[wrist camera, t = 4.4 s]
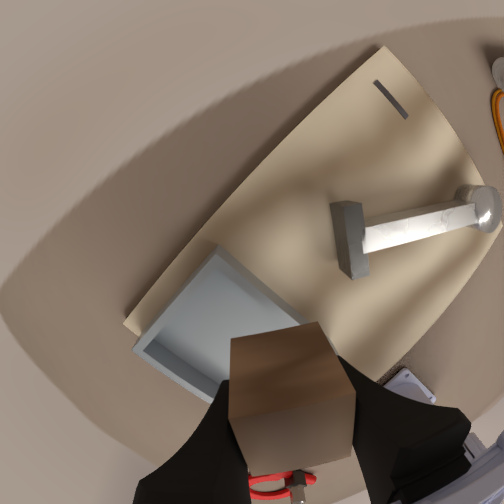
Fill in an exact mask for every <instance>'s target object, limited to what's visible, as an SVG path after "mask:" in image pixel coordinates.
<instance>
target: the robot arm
mask: <svg viewBox="0 0 504 504" xmlns="http://www.w3.org/2000/svg"><path fill="white" fill-rule="evenodd" d="M337 357H338V359H339V361H340V363H341V365H342V367H343V369H344V370H345V372H346V374H347V376H348V378H349V380H350V382H351V384H352V385H353V387H354V389H355V391H356V402H355V418H354V430H353V440H352V445H353V447H354V450H355V452H356V455H357V458H358V461H359V464H360V467H361V470H362V473H363V477H364V480H365V483H366V487H367V490H368V493H369V497H370V501H371V504H502V502H503V500H504V431H503V432H502V433H501V434H500V436H499V437H498V439H497V441H496V443H494V444H493V445H492V446H490V447H489V448H488V449H487V448H486V447H485V446H484V445H483V444H482V442H481V441H480V440H479V438H478V437H477V436H476V435H475V433H469V431H470V429H471V422H470V421H469V420H468V419H467V417H466V416H465V415H464V414H463V413H462V412H461V411H460V410H459V409H458V408H451V407H442V406H436V405H434V404H433V403H434V402H435V400H436V397H435V396H434V395H433V394H432V393H431V392H430V391H429V390H428V389H427V388H426V387H425V386H424V385H423V384H422V383H421V382H420V381H419V380H418V379H417V378H416V377H415V376H414V375H413V374H412V373H411V372H410V371H409V370H408V369H407V368H403V369H402V370H400V371H399V372H398V373H397V374H396V375H395V376H394V377H393V378H392V379H391V380H390V381H389V382H388V383H386V384H385V385H384V386H381V385H379V384H378V383H376V382H374V381H373V380H371V379H370V378H368V377H367V376H365V375H364V374H363V373H361V372H360V371H358V370H357V369H356V368H354V367H353V366H352V365H351V364H349V363H348V362H347V361H346V360H345V359H343V358H342V357H341V356H339V355H337ZM228 413H229V379H228V380H223V381H222V382H221V384H220V386H219V389H218V391H217V393H216V395H215V397H214V400H213V402H212V403H211V405H210V407H209V409H208V411H207V413H206V415H205V416H204V418H203V419H202V421H201V423H200V424H199V426H198V427H197V429H196V430H195V431H194V433H193V434H192V435H191V437H190V438H189V439H188V440H187V442H186V443H185V444H184V445H183V446H182V447H181V448H180V449H179V450H178V451H177V452H176V453H175V454H174V455H173V456H172V457H171V458H170V459H169V460H168V461H167V462H165V463H164V464H163V465H162V466H161V467H159V468H158V469H157V470H155V471H154V472H152V473H151V474H149V475H148V476H146V477H145V478H143V479H141V480H140V481H139V483H138V486H137V488H136V492H135V496H134V500H133V504H251V496H250V489H249V480H248V468H247V464H246V461H245V459H244V457H243V454H242V452H241V449H240V447H239V444H238V442H237V439H236V437H235V434H234V432H233V429H232V427H231V424H230V422H229V419H228Z"/></svg>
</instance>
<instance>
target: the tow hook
mask: <svg viewBox="0 0 504 504" xmlns="http://www.w3.org/2000/svg"><path fill="white" fill-rule="evenodd" d="M282 478H284V480H285V488H286V489H284V490H281V491H277V492H257V491H254V490H252V489H250V488H249V489H250V496H251V498H252V499H259V500H272V499H279V498H284V497H288V496H290V499H291V504H304V503H305V502H306V500H305V494H304V487H306V486H307V484H314V483H315V482H316V476H314V475H310V474H307V473H304V472H302V471H299V470H293V471H287V472H282V473H276V474H269V475H262V476H254V477H252V475H249V476H248V480H249V487H250V486H251V485H253V484H256V483H259V482H264V481H277V480H280V479H282Z"/></svg>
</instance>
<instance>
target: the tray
mask: <svg viewBox="0 0 504 504" xmlns="http://www.w3.org/2000/svg"><path fill="white" fill-rule="evenodd" d="M307 323H310V322H309V321H308V320H307V319H305V318H304V317H303V316H302V315H301V314H300V313H298V312H297V311H296V310H295V309H294V308H292V307H291V306H290V305H289V304H288V303H287V302H285V301H284V300H283V299H282V298H281V297H279V296H278V295H277V294H276V293H275V292H274V291H272V290H271V289H270V288H269V287H268V286H267V285H265V284H264V283H263V282H262V281H261V280H260V279H258V278H257V277H256V276H255V275H254V274H253V273H251V272H250V271H249V270H248V269H247V268H246V267H245V266H243V265H242V264H241V263H240V262H239V261H238V260H236V259H235V258H234V257H233V256H232V255H231V254H230V253H228V252H227V251H226V250H225V249H224V248H223V247H221V246H220V245H219V244H218V245H217V246H216V247H215V249H214V250H213V251H212V252H211V253H210V254H209V255H208V256H207V258H206V259H205V260H204V261H203V262H202V263H201V264H200V265H199V267H198V268H197V269H196V270H195V271H194V272H193V273H192V274H191V276H190V277H189V278H188V279H187V280H186V281H185V282H184V284H183V285H182V286H181V287H180V288H179V289H178V290H177V292H176V293H175V294H174V295H173V296H172V297H171V298H170V300H169V301H168V302H167V303H166V304H165V305H164V307H163V308H162V309H161V310H160V311H159V312H158V314H157V315H156V316H155V317H154V318H153V319H152V321H151V322H150V323H149V324H148V325H147V326H146V328H145V329H144V330H143V331H142V332H141V334H140V336H139V338H138V339H137V341H136V343H135V345H134V346H133V348H132V351H133V352H134V353H136V354H137V355H138V356H140V357H141V358H142V359H144V360H145V361H146V362H148V363H149V364H150V365H152V366H153V367H155V368H156V369H157V370H159V371H160V372H162V373H163V374H164V375H166V376H167V377H169V378H170V379H172V380H173V381H175V382H176V383H178V384H179V385H181V386H182V387H184V388H185V389H187V390H188V391H190V392H192V393H193V394H195V395H196V396H198V397H200V398H201V399H203V400H205V401H206V402H208V403H210V404H211V403H212V402H213V400H214V397H215V395H216V393H217V391H218V389H219V386H220V384H221V382H222V381H223V380H228V379H229V373H230V341H231V338H236V337H241V336H247V335H253V334H258V333H263V332H269V331H274V330H279V329H284V328H289V327H293V326H298V325H303V324H307ZM326 337H327V336H326ZM327 339H328V341H329V343H330V345H331V346H332V348H333V350H334V352H335V354H336V356H337V355H339V354H338V352H337V350H336V349H335V347H334V345H333V343H332V342H331V340H330V339H329V338H328V337H327Z"/></svg>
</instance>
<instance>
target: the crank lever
mask: <svg viewBox="0 0 504 504" xmlns="http://www.w3.org/2000/svg"><path fill="white" fill-rule="evenodd" d="M329 205H330V211H331V217H332V223H333V229H334V236H335V243H336V250H337V257H338V265H339V269H340V270H341V271H342V272H343V273H344V274H346V275H347V276H348V277H349V278H350V279H351V280H356V279H359V278H363V277H366V276H370V270H369V259H368V253H369V252H373V251H377V250H381V249H384V248H388V247H392V246H396V245H400V244H403V243H407V242H411V241H414V240H418V239H422V238H425V237H429V236H433V235H436V234H440V233H443V232H447V231H450V230H454V229H457V228H461V227H464V226H465V227H468V228H472V229H475V230H479V231H482V232H486V233H492V232H493V231H495V230H496V228H497V227H498V225H499V223H500V220H501V216H502V202H501V197H500V195H499V193H498V191H497V190H496V189H495V188H494V187H491V186H483V185H473V184H463V185H461V186H460V187H459V188H458V189H457V191H456V193H455V196H454V200H451V201H446V202H441V203H437V204H432V205H427V206H422V207H417V208H413V209H408V210H403V211H399V212H394V213H389V214H384V215H380V216H375V217H370V218H366V219H364V215H363V208H362V203H359V202H354V201H349V200H344V201H339V202H334V203H329Z"/></svg>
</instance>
